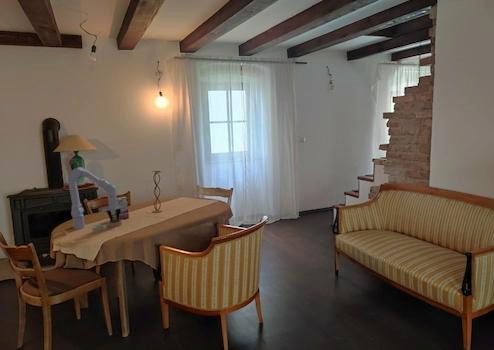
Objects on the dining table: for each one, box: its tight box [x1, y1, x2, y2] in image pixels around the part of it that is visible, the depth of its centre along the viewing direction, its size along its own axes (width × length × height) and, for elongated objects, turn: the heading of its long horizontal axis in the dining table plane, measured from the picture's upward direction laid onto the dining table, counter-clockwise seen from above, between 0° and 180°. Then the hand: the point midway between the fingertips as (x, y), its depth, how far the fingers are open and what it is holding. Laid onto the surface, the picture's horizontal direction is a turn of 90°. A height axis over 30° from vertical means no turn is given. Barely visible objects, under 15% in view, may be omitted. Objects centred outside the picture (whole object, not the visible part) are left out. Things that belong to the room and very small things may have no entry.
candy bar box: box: [111, 196, 130, 220], centre depth 284 cm, size 11×5×16 cm, turn 137°
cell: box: [111, 213, 118, 223], centre depth 266 cm, size 4×4×6 cm
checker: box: [90, 224, 108, 232], centre depth 260 cm, size 10×10×2 cm
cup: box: [107, 219, 123, 228], centre depth 266 cm, size 10×10×4 cm
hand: (114, 220), depth 266 cm, fingers closed on cell, 4 cm apart
